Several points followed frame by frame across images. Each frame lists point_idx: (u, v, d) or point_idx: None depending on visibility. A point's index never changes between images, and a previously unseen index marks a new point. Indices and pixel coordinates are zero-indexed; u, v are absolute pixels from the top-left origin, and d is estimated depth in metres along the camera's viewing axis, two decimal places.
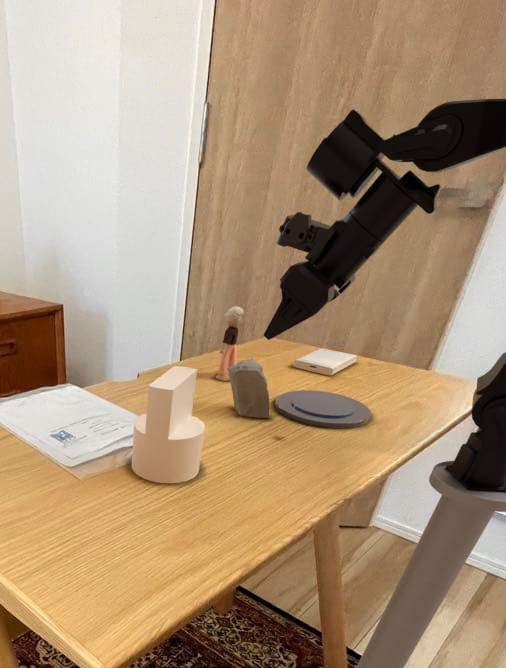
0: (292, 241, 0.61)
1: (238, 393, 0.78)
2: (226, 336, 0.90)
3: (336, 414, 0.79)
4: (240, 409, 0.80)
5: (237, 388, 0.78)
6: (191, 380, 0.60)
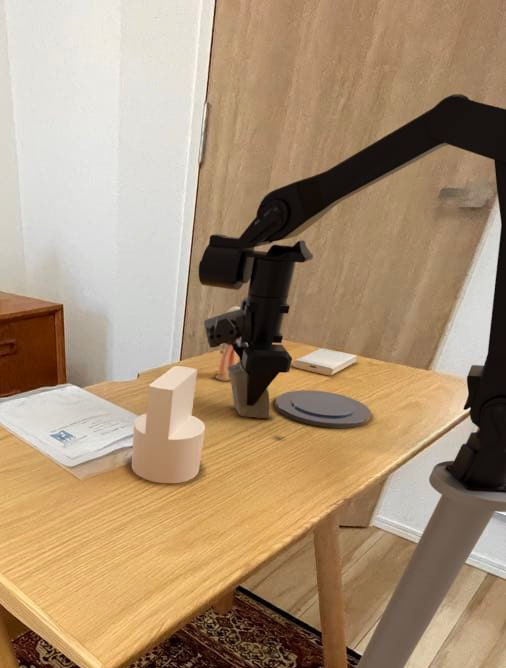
0: (227, 339, 0.72)
1: (238, 393, 0.78)
2: None
3: (336, 414, 0.79)
4: (240, 409, 0.80)
5: (237, 388, 0.78)
6: (191, 380, 0.60)
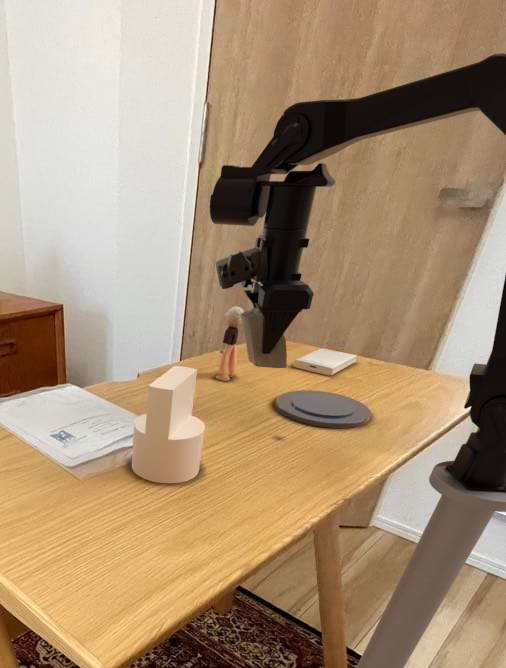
0: (241, 277, 0.66)
1: (253, 341, 0.73)
2: (226, 336, 0.90)
3: (336, 414, 0.79)
4: (255, 359, 0.74)
5: (251, 335, 0.72)
6: (191, 380, 0.60)
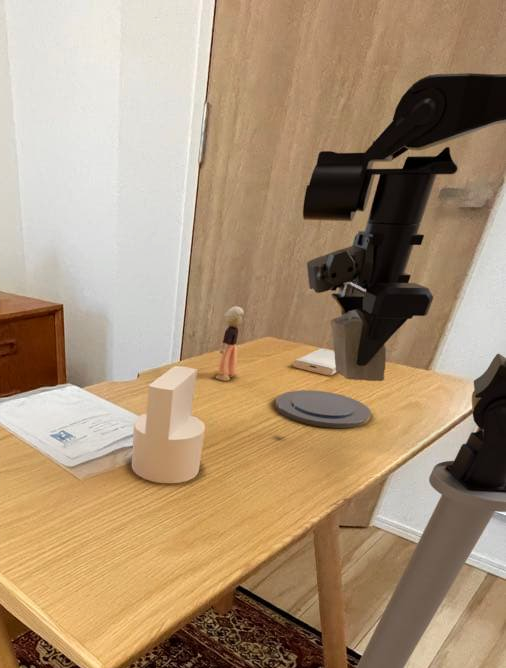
0: (343, 279, 0.58)
1: (346, 351, 0.64)
2: (226, 336, 0.90)
3: (336, 414, 0.79)
4: (347, 371, 0.66)
5: (346, 344, 0.64)
6: (191, 380, 0.60)
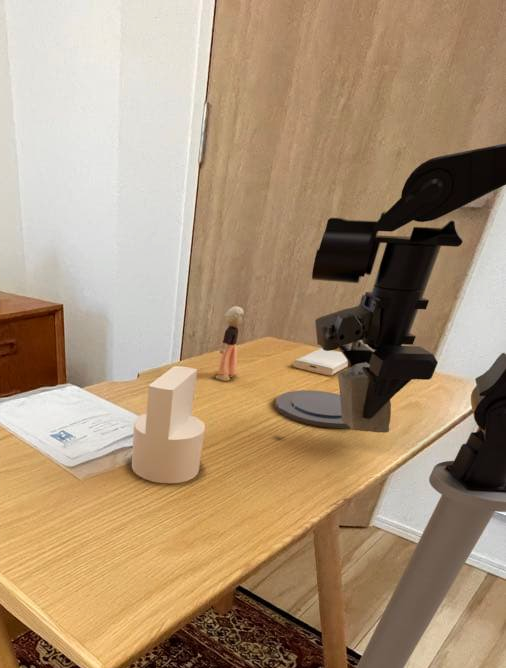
0: (351, 341, 0.60)
1: (353, 404, 0.67)
2: (226, 336, 0.90)
3: (336, 414, 0.79)
4: (353, 422, 0.68)
5: (352, 398, 0.66)
6: (191, 380, 0.60)
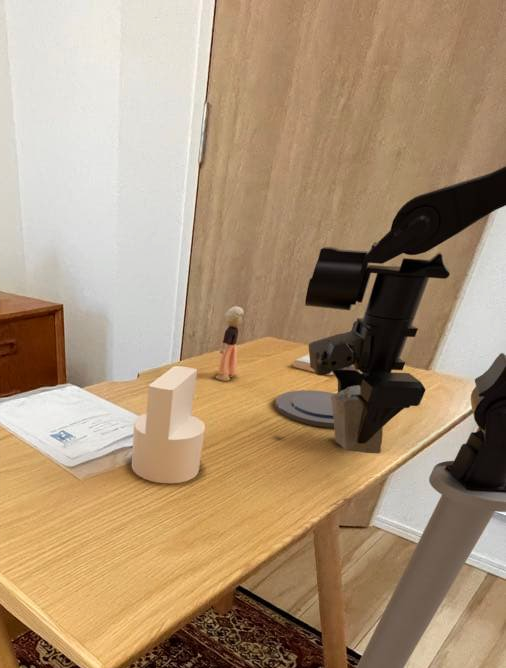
0: (343, 367, 0.62)
1: (346, 425, 0.69)
2: (226, 336, 0.90)
3: None
4: (346, 443, 0.70)
5: (345, 420, 0.68)
6: (191, 380, 0.60)
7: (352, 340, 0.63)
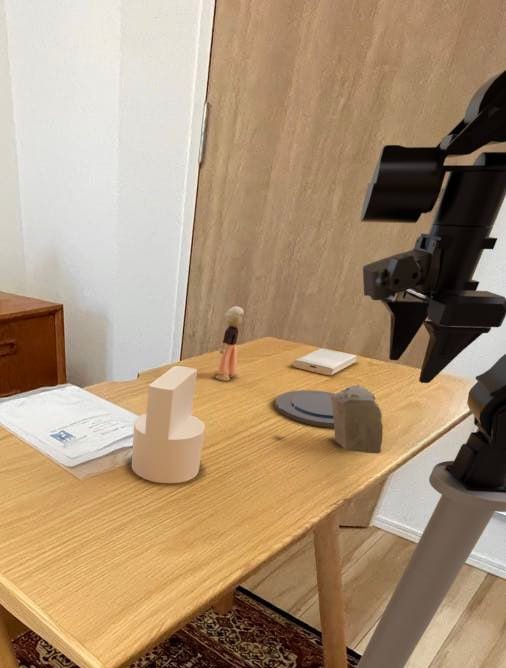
0: (407, 286, 0.53)
1: (346, 425, 0.69)
2: (226, 336, 0.90)
3: None
4: (346, 443, 0.70)
5: (345, 420, 0.68)
6: (191, 380, 0.60)
7: (417, 256, 0.54)
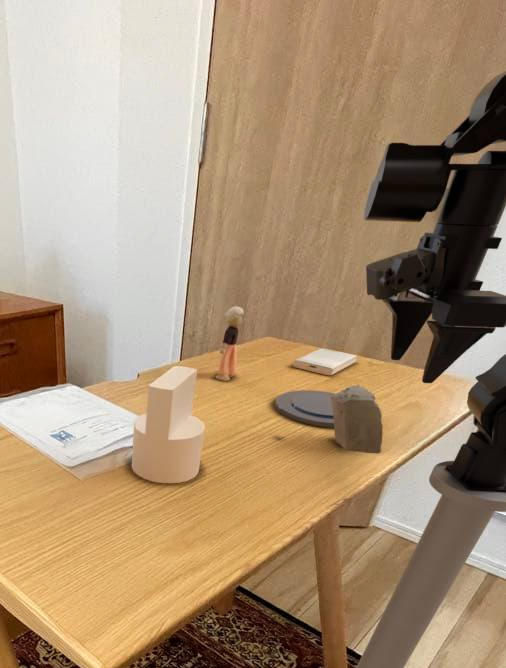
0: (411, 285, 0.53)
1: (346, 425, 0.69)
2: (226, 336, 0.90)
3: None
4: (346, 443, 0.70)
5: (345, 420, 0.68)
6: (191, 380, 0.60)
7: (421, 255, 0.53)
